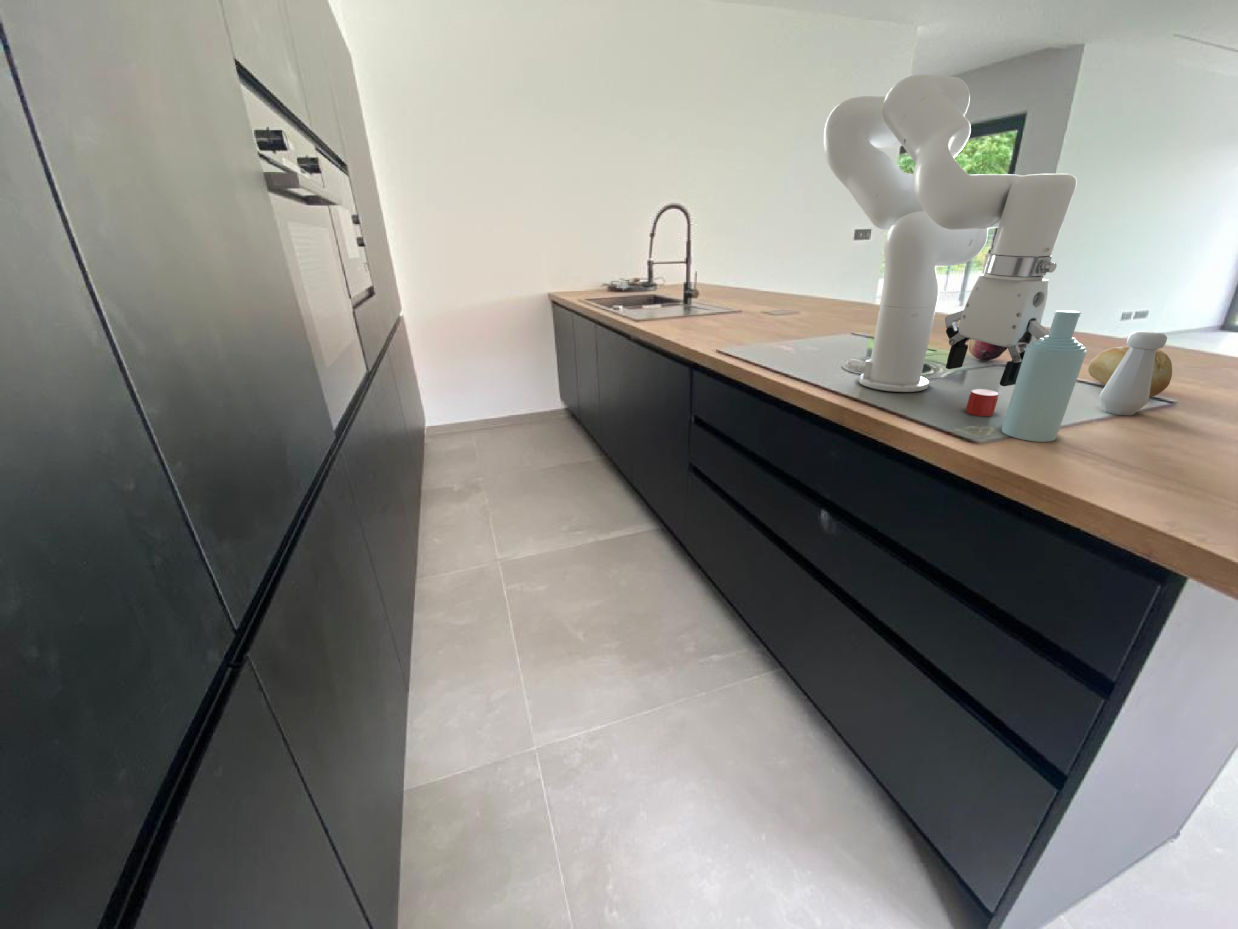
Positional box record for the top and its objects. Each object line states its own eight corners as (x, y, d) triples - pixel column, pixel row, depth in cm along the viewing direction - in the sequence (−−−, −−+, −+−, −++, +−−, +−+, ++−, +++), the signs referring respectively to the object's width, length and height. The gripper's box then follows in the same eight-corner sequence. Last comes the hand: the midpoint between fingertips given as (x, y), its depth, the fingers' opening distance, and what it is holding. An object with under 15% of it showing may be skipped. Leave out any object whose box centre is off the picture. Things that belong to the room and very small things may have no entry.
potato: (1126, 379, 99) (1142, 339, 96) (1182, 402, 86) (1203, 356, 83) (1069, 378, 101) (1083, 338, 98) (1115, 400, 88) (1133, 355, 85)
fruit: (985, 355, 121) (994, 321, 118) (1013, 362, 114) (1023, 326, 111) (956, 357, 120) (965, 323, 116) (983, 365, 113) (993, 329, 110)
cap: (987, 418, 83) (993, 397, 81) (961, 412, 85) (967, 392, 84) (996, 413, 85) (1002, 392, 83) (971, 407, 87) (977, 387, 86)
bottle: (1006, 438, 75) (1045, 314, 67) (997, 424, 80) (1032, 307, 72) (1062, 444, 72) (1108, 315, 64) (1048, 429, 77) (1090, 308, 70)
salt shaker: (1151, 417, 80) (1187, 335, 75) (1109, 416, 81) (1142, 335, 76) (1126, 406, 85) (1157, 328, 80) (1087, 405, 86) (1115, 328, 81)
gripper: (1096, 272, 70) (1048, 389, 78) (979, 260, 84) (950, 359, 92) (1059, 276, 68) (1014, 395, 76) (946, 263, 82) (919, 364, 90)
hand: (979, 375), depth 84 cm, fingers open, 9 cm apart
